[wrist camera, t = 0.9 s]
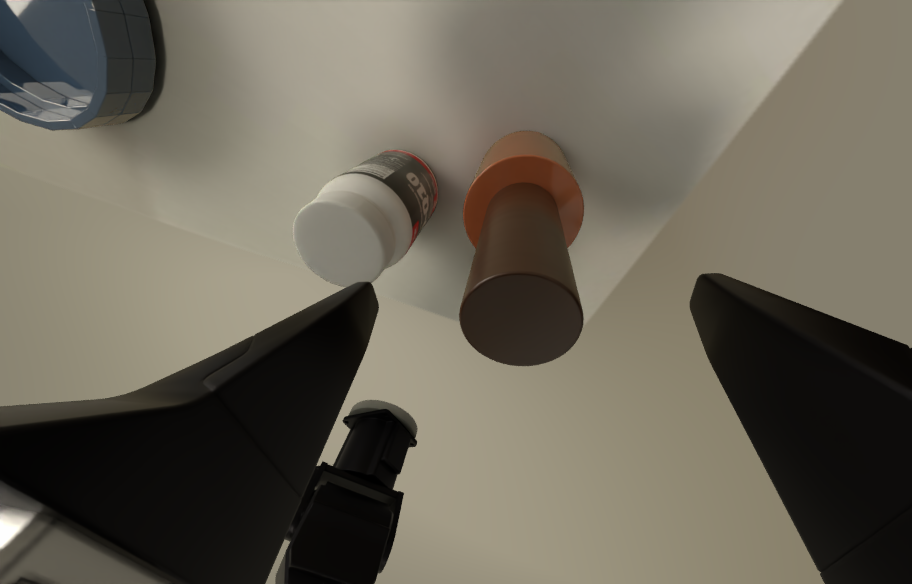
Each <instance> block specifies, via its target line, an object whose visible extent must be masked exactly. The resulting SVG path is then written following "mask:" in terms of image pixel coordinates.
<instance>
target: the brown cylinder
mask: <svg viewBox="0 0 912 584" xmlns="http://www.w3.org/2000/svg"><path fill="white" fill-rule="evenodd" d="M583 319H584V318H583V311H582V306H581V302H580V298H579V294H578V290H577V286H576V282H575V278H574V273H573V269H572V265H571V261H570V257H569V253H568V249H567V244H566V240H565V236H564V232H563V228H562V224H561V220H560V215H559V211H558V207H557V204H556V202H555V200H554V198H553V197H552V195H551V194H550V193H549V192H548V191H547V190H546V189H544V188H543V187H541V186H539V185H536V184H533V183H526V182H521V183H515V184H511V185H508V186H506V187H504V188H503V189H501V190H500V191H498V192H497V193H496V194H495V195H494V197H493V198H492V199H491V201H490V202H489V205H488V207H487V210H486V214H485V218H484V221H483V225H482V229H481V233H480V236H479V240H478V244H477V247H476V251H475V255H474V259H473V262H472V266H471V270H470V274H469V277H468V281H467V285H466V288H465V292H464V296H463V300H462V303H461V307H460V313H459V320H460V325H461V328H462V331H463V334H464V336H465V337H466V339H467V340H468V342H469V343H470V344H471V345H472V346H473V347H474V348H475V349H476V350H477V351H478V352H479V353H481V354H482V355H484V356H486V357H488V358H489V359H492V360H494V361H496V362H500V363H503V364H507V365H514V366H533V365H539V364H543V363H546V362H549V361H552V360H554V359H556V358H558V357H560V356H562V355H563V354H564V353H566V352H567V351H568V350H569V349H570V348H571V347H572V346H573V345H574V344H575V343H576V341H577V339H578V338H579V336H580V333H581V331H582V327H583Z"/></svg>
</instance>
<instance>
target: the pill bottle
mask: <svg viewBox="0 0 912 584" xmlns="http://www.w3.org/2000/svg"><path fill="white" fill-rule="evenodd" d="M437 199H438V187H437V182H436V179H435V177H434V175H433V173H432V171H431V170H430V168H429V167H428V165H427V164H426V163H425V162H424V161H423V160H422V159H420V158H419V157H417V156H416V155H414V154H412V153H409V152H407V151H403V150H387V151H384V152H381V153H379V154H377V155H375V156H374V157H372V158H370V159H368V160H367V161H365V162H363V163H361V164H359V165H358V166H356V167H354V168H352V169H350V170H349V171H347V172H345V173H343V174H341V175H339V176H337V177H336V178H334V179H332V180H331V181H330V182H328V183H327V184H326V185H325V186H324V187H323V188H322V189H321V191H320V192H319V194H318V196H317V197H316V198H315V199H314V200H313V201H312V202H310V203H309V204H307V205H306V206H304V207H303V208H302V209H301V210H300V211H299V213H298V214H297V216H296V218H295V220H294V224H293V239H294V243H295V246H296V249H297V251H298V253H299V255H300V256H301V258H302V260H303V261H304V262H305V264H306V265H307V266H308V267H309V268H310V269H311V270H312V271H313V272H314V273H316V274H317V275H318V276H320V277H321V278H323V279H324V280H326V281H328V282H330V283H332V284H336V285H339V286H343V287H348V286H350V285H352V284H354V283H356V282H370V283H372V282H373V281H374V280H376V279H377V278H378V277H379V276H380V274H381V273H382V272H383V270H384V269H386V268H388V267H391V266H392V265H394V264H396V263H397V262H398V261H399V260H401V258H402V257H403V256H404V255H405V254H406V253H407V251H408V250H409V248H410V247H411V245H412V244H413V242H414V241H415V239H416V238H417V236H418V234H419V233H420V231H421V230H422V228H423V227H424V225H425V224H426V222H427V221H428V219H429V218H430V216H431V215H432V213H433V211H434V209H435V207H436V204H437Z"/></svg>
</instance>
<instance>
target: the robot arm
mask: <svg viewBox="0 0 912 584" xmlns="http://www.w3.org/2000/svg"><path fill="white" fill-rule="evenodd" d="M378 308H379V305H378V301H377V298H376V294H375V291H374V288H373V286H372V284H371V283H370V282H356V283H354V284H352V285H350V286H348V287H346V288H344V289H343V290H341V291H339V292H337V293H335V294H333V295H331V296H329V297H327V298H325V299H323V300H321V301H319V302H317V303H316V304H313V305H311V306H309V307H307V308H306V309H304V310H302V311H300V312H298V313H296V314H294V315H292V316H290V317H288V318H286V319H284V320H282V321H280V322H278V323H276V324H274V325H272V326H271V327H269V328H267V329H265V330H263V331H261V332H259V333H257V334H255V335H254V336H251V337H249V338H247V339H245V340H243V341H241V342H239V343H237V344H235V345H233V346H231V347H229V348H227V349H225V350H223V351H221V352H219V353H217V354H215V355H213V356H211V357H208V358H206V359H204V360H202V361H200V362H198V363H196V364H194V365H192V366H189V367H187V368H185V369H183V370H181V371H178V372H176V373H174V374H172V375H170V376H167V377H165V378H163V379H161V380H159V381H157V382H154V383H152V384H150V385H148V386H146V387H143V388H141V389H138V390H136V391H134V392H131V393H127V394H124V395H120V396H116V397H111V398H105V399H96V400H83V401H71V402H56V403H42V404H29V405H16V406H1V407H0V584H265V583H266V581H267V578H268V576H269V574H270V571H271V569H272V567H273V564H274V562H275V560H276V558H277V555H278V553H279V550H280V548H281V546H282V544H283V541H284V539H285V540H288V541H291V542H290V544H289V546H288V548H287V550H286V552H285V555H284V557H283V560H282V562H281V564H280V567H279V569H278V571H277V574H276V584H374V583H375V581H376V577H377V574H378V573H381V572H382V570H383V569H384V567H385V565H386V562H387V560H388V557H389V554H390V552H391V549H392V546H393V542H394V538H395V533H396V528H397V524H398V519H399V515H400V510H401V505H402V499H403V495H404V493H403V492H400V491H398V492H397V491H395V490H393V487H394V484H395V481H396V477H397V475H398V474H400V472H401V469H402V466H403V463H404V459H405V456H406V453H407V450H408V448H409V447H415V446H416V445H417V440H416V439H415V438H414V437H413V436H412V435H411V434H410V433H409V431H408V430H407V429H406V428H405V427H404V426H403V425H402V424H401V423H400V421H399V420H398V419H397V418H396V417H395V416H394V415H393V414H392V413H391V411H389V410H388V409H381V410H376V411H371V412H365V413H360V414H355V415H350V416H346V417H344V420H343V423H345V425H347V427H348V428H350V429H351V430H350V432H349V434H348V436H347V438H346V440H345V442H344V444H343V447H342V448H341V450H340V452H339V454H338V457H337V459H336V461H335V463H334V465H333V466H330V465H328V464H327V463H325V462H322V464H321V465H320V466H316V465H317V463H318V460H319V458H320V456H321V453H322V451H323V449H324V446H325V444H326V442H327V440H328V437H329V435H330V432H331V430H332V428H333V426H334V423H335V421H336V419H337V417H338V414H339V412H340V409H341V407H342V405H343V403H344V400H345V398H346V395H347V393H348V391H349V389H350V387H351V384H352V382H353V380H354V377H355V375H356V373H357V370H358V368H359V366H360V363H361V361H362V359H363V356H364V354H365V351H366V349H367V346H368V343H369V340H370V336H371V333H372V330H373V326H374V323H375V320H376V317H377V313H378ZM690 310H691V313H692V316H693V319H694V321H695V324H696V327H697V330H698V332H699V335H700V338H701V341H702V343H703V346H704V349H705V351H706V354H707V357H708V359H709V361H710V363H711V365H712V367H713V369H714V371H715V373H716V375H717V377H718V378H719V381H720V383H721V384H722V386H723V388H724V390H725V392H726V394H727V396H728V398H729V400H730V402H731V404H732V405H733V408H734V409H735V411H736V413H737V415H738V417H739V419H740V421H741V423H742V425H743V427H744V429H745V431H746V433H747V435H748V436H749V438H750V440H751V442H752V444H753V446H754V448H755V450H756V452H757V454H758V456H759V457H760V459H761V461H762V463H763V465H764V467H765V469H766V471H767V473H768V475H769V477H770V479H771V480H772V482H773V484H774V486H775V488H776V490H777V492H778V494H779V496H780V498H781V500H782V502H783V504H784V506H785V507H786V509H787V511H788V513H789V515H790V517H791V519H792V521H793V523H794V525H795V527H796V528H797V531H798V532H799V534H800V536H801V538H802V540H803V542H804V544H805V546H806V548H807V550H808V552H809V554H810V555H811V557H812V559H813V561H814V563H815V565H816V567H817V569H818V570H819V571H820V572H821V573H820V575H821V577H822V579H823V581H824V583H825V584H912V348H909V346H908V345H906V344H903V343H900V342H898V341H895V340H893V339H890V338H887V337H885V336H882V335H879V334H877V333H874V332H872V331H869V330H866V329H864V328H861V327H859V326H856V325H853V324H851V323H848V322H846V321H843V320H840V319H838V318H835V317H833V316H830V315H827V314H825V313H822V312H820V311H817V310H814V309H812V308H809V307H807V306H804V305H801V304H799V303H796V302H793V301H791V300H788V299H785V298H783V297H780V296H778V295H775V294H772V293H770V292H767V291H765V290H762V289H760V288H756V287H754V286H752V285H749V284H747V283H744V282H741V281H739V280H736V279H733V278H731V277H728V276H726V275H723V274H719V273H711V274H701V275H700V276H699V277H698V278H697V281H696V284H695V287H694V290H693V293H692V296H691V300H690Z"/></svg>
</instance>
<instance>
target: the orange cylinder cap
mask: <svg viewBox="0 0 912 584" xmlns="http://www.w3.org/2000/svg"><path fill="white" fill-rule="evenodd" d="M521 182H526V183H533V184H536V185H539V186H541V187H543V188H544V189H546V190H547V191H548V192H549V193H550V194H551V195H552V197H553V198H554V200H555V202H556V204H557V207H558V211H559V215H560V220H561V224H562V228H563V232H564V236H565V240H566V244H567V248H568V247H569V246H570V245H571V244H572V242H573V241H574V240H575V238H576V236H577V234H578V232H579V230H580V228H581V225H582V221H583V216H584V202H583V197H582V193H581V190H580V188H579V185H578V183H577V181H576V179H575V177H574V175H573V172H572V170H571V168H570V166H569V164H568V162H567V160H566V157H565V155H564V153H563V152H562V150H561V148H560V147H559V146H558V145H557V143H556V142H554V141H553V140H552V139H551V138H549V137H548V136H546V135H544V134H542V133H538V132H534V131H519V132H514V133H511V134H509V135H506V136H504V137H503V138H501V139H499V140H498V141H497V142H496V143H494V144H493V145H492V146H491V147H490V149H489V150H488V151H487V153H486V154H485V156H484V158H483V160H482V162H481V164H480V166H479V169H478V171H477V173H476V175H475V177H474V179H473V182H472V184H471V186H470V188H469V190H468V193H467V195H466V198H465V202H464V208H463V221H464V227H465V230H466V233H467V235H468V238H469V240H470V241H471V243H472V244H473V246H474V247H475V248H476V247H477V244H478V240H479V236H480V233H481V229H482V225H483V221H484V218H485V214H486V210H487V207H488V205H489V202H490V201H491V199H492V198H493V197H494V195H495V194H496V193H497V192H498V191H500V190H501V189H503V188H504V187H506V186H508V185H511V184H515V183H521Z"/></svg>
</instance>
